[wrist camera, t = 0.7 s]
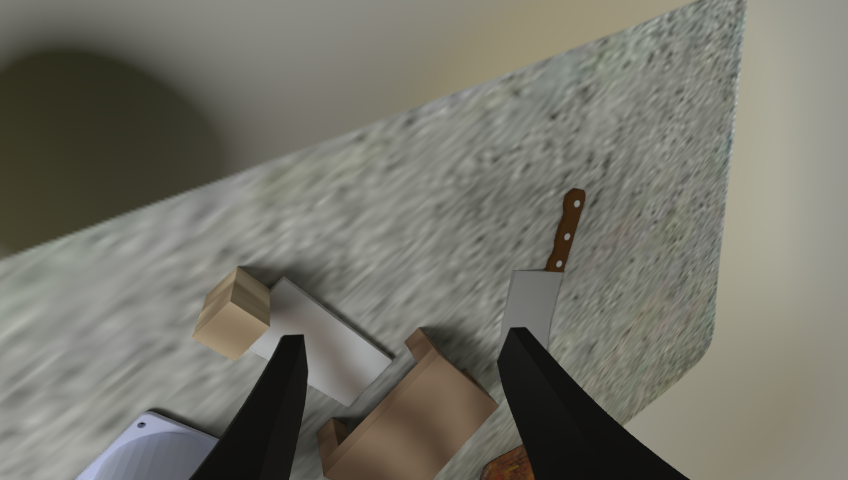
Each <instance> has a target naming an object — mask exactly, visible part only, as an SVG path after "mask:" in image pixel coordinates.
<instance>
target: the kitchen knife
mask: <svg viewBox="0 0 848 480" xmlns="http://www.w3.org/2000/svg"><path fill="white" fill-rule="evenodd" d="M584 202H585V192H584V190H580V189H575V188H573V189H572V190H570V191H569V192H568V193H567V194H566V195H565V197H564V201H563V211H564V212H563V216H562V219H561V221H560V223H559V225H558V229H557V232H556V236H555V240H554V248H553V252H552V254H551V255H550V257H549V259H548V261H547V265H546V268H544V269H543V270H512V275H511V280H510V285H509V290H508V295H507V300H506V305H505V311H504V316H503V321H502V327H501V334H500V342H499V350H498V357H499V355H500V352H501V350H502V347H503V345H504V342H505V339H506V337H507V334H508V332H509V329H510V327H526V328H527V329H528V330H529V331H530V332H531V333H532V334H533V336H534V337H535V338H536V339H537V340H538V341H539V342H540V343H541V345H542V346H543V347H544V348H545V349H546V350H547V345H548V336H549V328H550V323H551V318H552V314H553V309H554V305H555V301H556V298H557V294H558V290H559V287H560V283H561V280H562V276H563V272H564V268H565V264H566V261H567V258H568V255H569V251H570V248H571V245H572V241H573V238H574V235H575V231H576V228H577V225H578V221H579V218H580V215H581V211H582V208H583V205H584ZM497 360H498V359H497ZM498 380H501V378H500V374H499V370H498V365H497V368H496V376H495V381H498Z"/></svg>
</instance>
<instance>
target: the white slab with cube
mask: <svg viewBox="0 0 848 480" xmlns="http://www.w3.org/2000/svg"><path fill="white" fill-rule="evenodd" d="M295 334H304V339H305V347H306V355H307V363H308V381H307V383H308V384H309V385H311V386H313V387H314V388H316V389H318V390H319V391H321V392H323V393H325V394H326V395H328V396H330V397H331V398H333V399H335V400H337V401H338V402H340V403H342V404H343V405H345V406H347V407H349V406H350V405H351V404H352V403H353V402H354V401H355V400H356V399H357V398H358V397H359V396H360V395H361V394H362V393H363V392H364V390H365V389H366V388H367V387H368V386H369V385H370V384H371V383H372V382H373V381H374V380H375V379H376V378H377V377H378V376H379V375H380V374H381V373H382V372H383V371H384V370H385V369H386V368H387V367H388V366H389V364H390V363H391V362H392V359H391V357H390V356H389V355H387V354H386V353H385V352H383V351H382V350H381V349H379V348H378V347H377V346H375V345H374V344H373V343H372V342H370V341H369V340H368V339H366V338H365V337H364V336H362V335H361V334H360V333H358V332H357V331H356V330H354V329H353V328H352V327H350V326H349V325H348V324H346V323H345V322H344V321H343V320H341V319H340V318H339V317H337V316H336V315H335V314H333V313H332V312H331V311H329V310H328V309H327V308H325V307H324V306H323V305H321V304H320V303H319V302H317V301H316V300H315V299H314V298H312V297H311V296H310V295H308V294H307V293H306V292H304V291H303V290H302V289H300V288H299V287H298V286H296V285H295V284H294V283H292V282H291V281H290V280H288V279H287V278H286V277H284V276H283V277H282V278H281V279H279V280H278V281H277V282H276V283H275V284H274V285H273V286H272V287H271V288H270V289H269V288H267V287H266V286H265V285H263V284H262V283H260V282H259V281H258V280H256V279H255V278H253V277H252V276H251V275H249V274H248V273H246V272H245V271H244V270H242V269H241V268H239V267H238V266H237V267H236V268H235V269H234V270H233V271H232V272H231V273H230V274H229V275H228V276H227V277H226V278H225V279H223V280H222V281H221V282H220V283H219V284H218V285H217V286H216V287H215V288H214V289H213V290H212V291H211V292H210V293H209V294H208V295H207V297H206V300H205V303H204V305H203V308H202V311H201V314H200V316H199V319H198V322H197V325H196V327H195V330H194V333H193V336H192V338H193V339H195V340H197V341H199V342H201V343H202V344H204V345H206V346H208V347H210V348H211V349H213V350H215V351H217V352H219V353H220V354H222V355H224V356H226V357H228V358H230V359H231V360H233V361H236V360H237V359H238V358H239V357H240V356H241V355H242V354H243V353H244V352H245V351H246V350H247V349H250V350H251V351H253V352H255V353H257V354H258V355H260V356H262V357H263V358H265V359H267V360H268V361H269V360H270V359H271V357H272V355H273V353H274V351H275V349H276V347H277V345H278V343H279V340H280V338H281V337H282V336H283V335H295Z"/></svg>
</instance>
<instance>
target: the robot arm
mask: <svg viewBox="0 0 848 480" xmlns="http://www.w3.org/2000/svg"><path fill="white" fill-rule="evenodd" d="M497 365H498V370H499V374H500V378H501V382H502V386H503V390H504V393H505V396H506V399H507V401H508V404H509V407H510V410H511V412H512V415H513V418H514V420H515V423H516V426H517V428H518V431H519V434H520V436H521V439H522V442H523V444H524V447H525V450H526V453H527V456H528V459H529V462H530V465H531V468H532V471H533V475H534V479H535V480H690V479H688V478H687V477H685V476H684V475H683V474H681V473H680V472H678V471H677V470H676V469H674V468H673V467H672V466H670V465H669V464H668V463H666V462H665V461H664V460H662V459H661V458H660V457H659V456H657V455H656V454H655V453H654V452H652V451H651V450H650V449H649V448H647V447H646V446H644V445H643V444H642V443H641V442H639V440H637V439H636V438H635V437H634V436H632V435H631V434H630V433H629V432H628V431H627V430H626V429H624V428H623V427H622V426H621V425H620V424H619V423H618V422H616V421H615V420H614V419H613V418H612V417H611V416H610V415H609V414H607V413H606V412H605V411H604V410H603V409H602V408H601V407H600V406H599V405H598V404H597V403H596V402H595V401H594V400H593V399H592V398H591V397H590V396H589V395H588V394H587V393H586V392H585V391H584V390H583V389H582V388H581V387H580V386H579V385H578V384H577V383H576V382H575V381H574V380H573V379H572V378H571V377H570V376H569V375H568V373H567V372H566V371H565V370H564V369H563V368H562V367H561V366H560V365H559V364H558V363H557V362H556V360H555V359H554V358H553V357H552V356H551V355H550V354H549V353H548V351H547V350H546V349H545V348H544V347H543V346H542V345H541V343H540V342H539V341H538V340H537V339H536V338H535V337H534V336H533V334H532V333H531V332H530V331H529V330H528V329H527V328H526V327H510V329H509V332H508V334H507V337H506V339H505V342H504V345H503V347H502V350H501V352H500V355H499V357H498V360H497ZM307 381H308V363H307V355H306V347H305V339H304V334H295V335H283V336H282V337H281V338H280V340H279V343H278V345H277V347H276V349H275V351H274V353H273V355H272V357H271V359H270V360H269V362H268V364H267V366H266V368H265V369H264V371H263V373H262V375H261V376H260V378H259V380H258V381H257V383H256V385H255V386H254V388H253V390H252V391H251V393H250V395H249V396H248V398H247V399H246V401H245V403H244V404H243V406H242V407H241V409H240V410H239V412H238V413H237V415H236V416H235V417H234V419H233V420H232V422H231V423H230V425H229V426H228V428H227V429H226V431H225V432H224V434H223V435H222V436H221V438H220V439H218V438H215V437H213V436H210V435H208V434H205V433H203V432H201V431H198V430H196V429H193V428H191V427H189V426H186V425H184V424H181V423H179V422H177V421H174V420H172V419H169V418H167V417H164V416H162V415H160V414H157V413H155V412H152V411H147V412H144V413H143V414H141V415H140V416H139V417H138V418H137V419H136V420H135V421H134V422H133V423H132V424H131V425H130V426H129V427H128V428H127V429H126V430H125V431H124V432H123V433H122V434H121V435H120V436H119V437H118V438H117V439H115V440H114V441H113V442H112V443H111V444H110V445H109V446H108V447H107V448H106V449H105V450H104V451H103V452H102V453H101V454H100V455H99V456H98V457H97V458H96V459H95V460H94V461H93V462H92V463H91V464H90V465H89V466H88V467H86V468H85V469H84V470H83V471H82V472H81V473H80V474H79V475H78V476H77V477H76V478H75V479H74V480H289V477H290V473H291V468H292V463H293V459H294V454H295V449H296V444H297V440H298V435H299V430H300V426H301V421H302V416H303V411H304V406H305V400H306V391H307ZM141 422H144V423H145V424H140V423H141Z"/></svg>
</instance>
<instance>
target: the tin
mask: <svg viewBox="0 0 848 480" xmlns="http://www.w3.org/2000/svg"><path fill="white" fill-rule="evenodd" d="M480 480H535V479H534V475H533V471H532V468H531V465H530V462H529V459H528V456H527V453H526V450H525V447H524V444H522V445H521V446H519V447H517V448H515V449H513V450H512V451H510V452H508V453H506V454H504V455H502V456H500V457H498V458H496V459H495V460H493V461H491V462H490V463H489V464H488V465H486V467H485V468H484V470H483V471H482V474H481V476H480Z"/></svg>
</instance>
